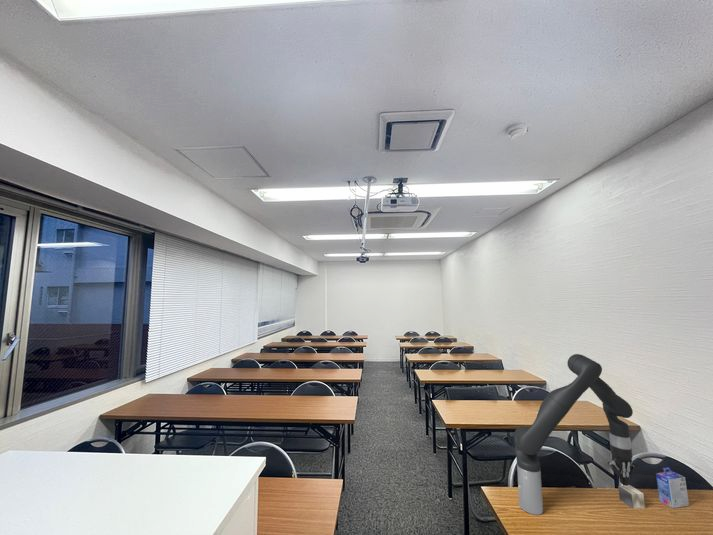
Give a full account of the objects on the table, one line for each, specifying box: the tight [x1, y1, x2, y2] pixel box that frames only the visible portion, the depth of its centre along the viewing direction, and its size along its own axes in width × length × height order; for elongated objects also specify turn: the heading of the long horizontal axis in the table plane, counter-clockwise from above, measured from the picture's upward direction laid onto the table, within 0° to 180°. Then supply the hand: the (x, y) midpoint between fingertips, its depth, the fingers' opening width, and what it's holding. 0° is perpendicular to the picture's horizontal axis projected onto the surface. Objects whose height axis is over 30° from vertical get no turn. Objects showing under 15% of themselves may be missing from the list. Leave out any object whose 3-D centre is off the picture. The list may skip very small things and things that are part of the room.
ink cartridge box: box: [655, 466, 690, 509], centre depth 135 cm, size 10×6×14 cm, turn 101°
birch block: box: [617, 484, 646, 510], centre depth 134 cm, size 6×6×6 cm
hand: (624, 484), depth 134 cm, fingers closed
